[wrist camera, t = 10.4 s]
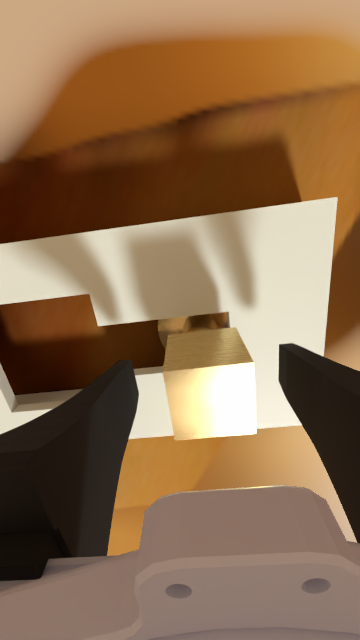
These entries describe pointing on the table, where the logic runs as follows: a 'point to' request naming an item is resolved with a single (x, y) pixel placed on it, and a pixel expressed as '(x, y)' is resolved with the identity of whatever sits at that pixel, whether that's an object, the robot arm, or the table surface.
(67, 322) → the table surface
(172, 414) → the keyhole peg
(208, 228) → the keyhole plate
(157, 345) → the table surface
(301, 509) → the robot arm
